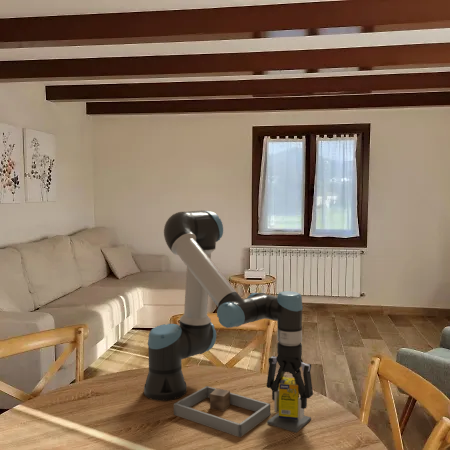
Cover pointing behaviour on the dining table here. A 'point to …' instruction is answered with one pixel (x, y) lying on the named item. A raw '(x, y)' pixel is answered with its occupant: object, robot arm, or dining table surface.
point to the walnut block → (220, 399)
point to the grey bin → (216, 422)
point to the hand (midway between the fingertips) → (289, 414)
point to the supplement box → (288, 398)
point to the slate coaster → (288, 423)
